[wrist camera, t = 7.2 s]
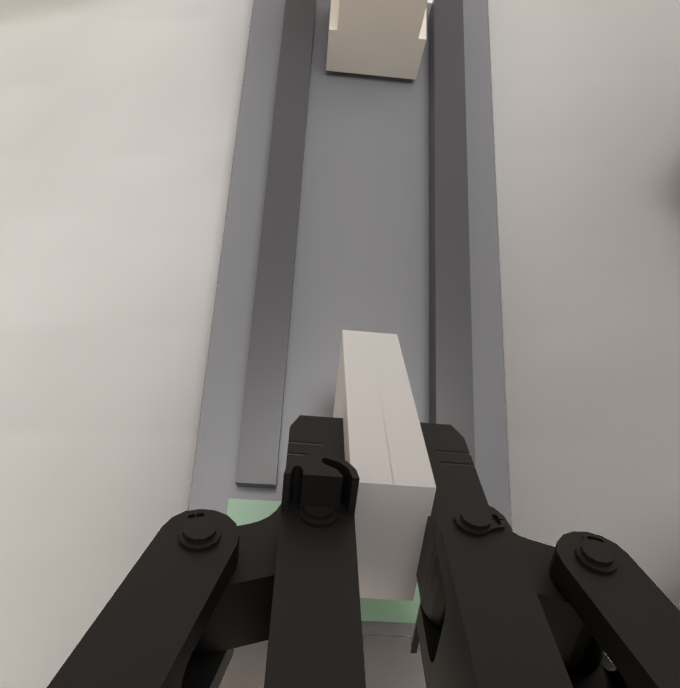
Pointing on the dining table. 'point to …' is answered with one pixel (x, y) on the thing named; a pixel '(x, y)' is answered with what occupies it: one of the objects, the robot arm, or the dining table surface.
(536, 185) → the dining table surface
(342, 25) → the breaker handle
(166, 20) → the dining table surface
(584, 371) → the dining table surface
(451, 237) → the panel
